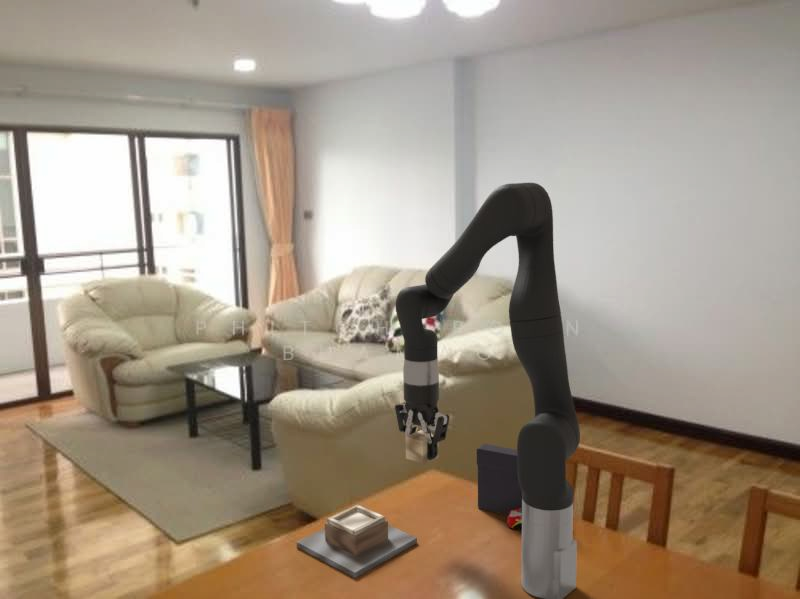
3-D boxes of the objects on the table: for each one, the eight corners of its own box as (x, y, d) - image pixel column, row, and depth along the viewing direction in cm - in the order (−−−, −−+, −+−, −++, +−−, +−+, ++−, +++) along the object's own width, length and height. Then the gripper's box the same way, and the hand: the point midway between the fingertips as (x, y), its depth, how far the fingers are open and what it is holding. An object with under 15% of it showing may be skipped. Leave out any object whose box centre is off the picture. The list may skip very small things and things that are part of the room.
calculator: (527, 512, 160) (528, 450, 158) (521, 519, 157) (521, 456, 154) (484, 502, 166) (483, 442, 164) (476, 509, 162) (476, 448, 160)
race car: (568, 524, 155) (568, 508, 154) (568, 536, 150) (568, 519, 149) (508, 519, 158) (508, 502, 157) (506, 530, 153) (506, 513, 152)
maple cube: (438, 457, 150) (438, 435, 149) (423, 464, 146) (422, 441, 146) (421, 451, 153) (421, 430, 153) (405, 458, 150) (405, 436, 149)
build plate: (417, 542, 148) (416, 515, 147) (355, 578, 135) (354, 548, 134) (358, 516, 160) (357, 491, 159) (296, 547, 147) (295, 519, 146)
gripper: (458, 381, 145) (458, 458, 148) (408, 369, 155) (409, 442, 157) (435, 389, 139) (435, 469, 142) (384, 376, 149) (386, 451, 152)
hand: (422, 454), depth 150 cm, fingers closed on maple cube, 5 cm apart
